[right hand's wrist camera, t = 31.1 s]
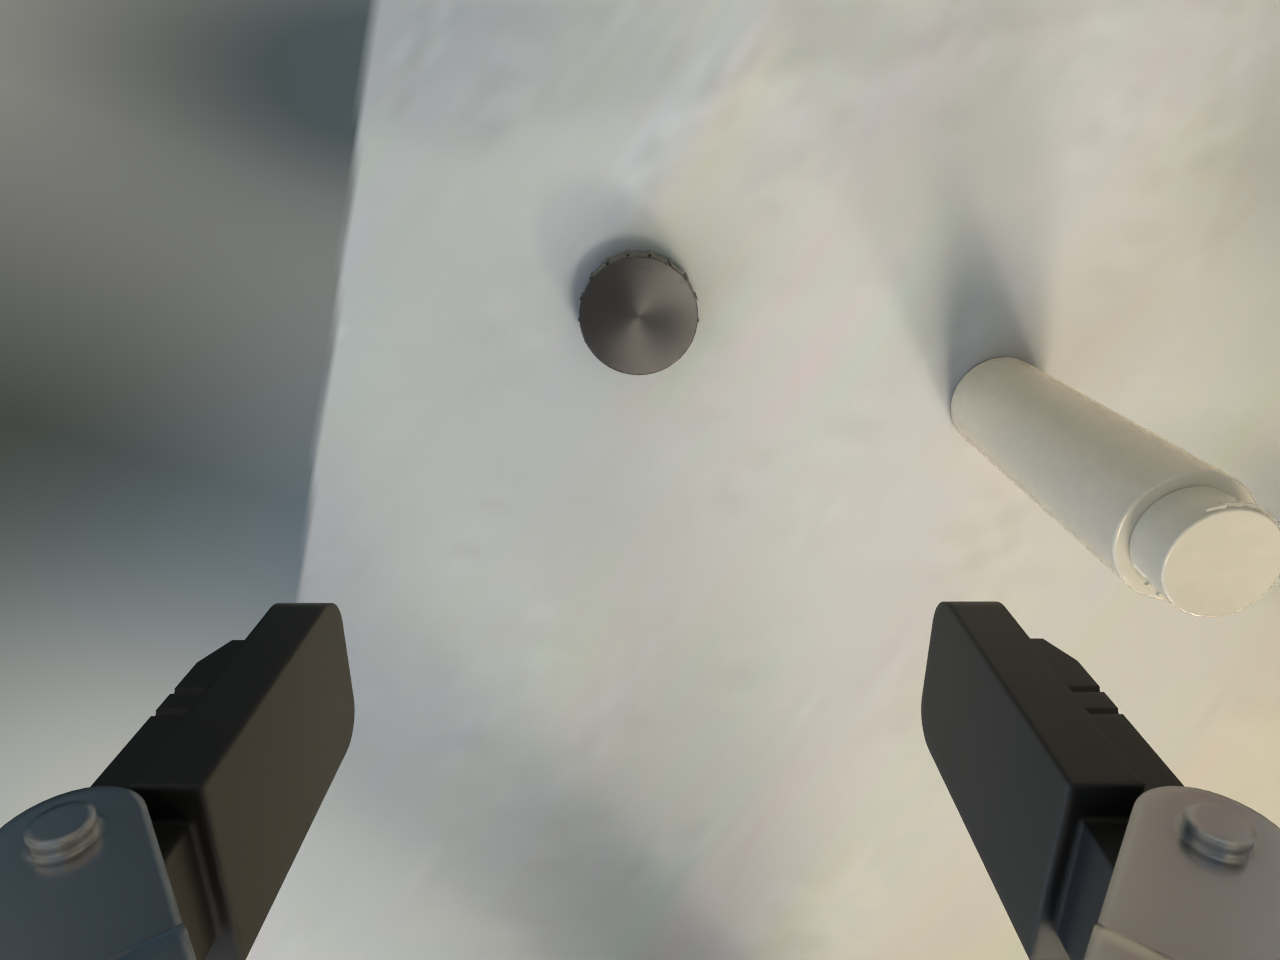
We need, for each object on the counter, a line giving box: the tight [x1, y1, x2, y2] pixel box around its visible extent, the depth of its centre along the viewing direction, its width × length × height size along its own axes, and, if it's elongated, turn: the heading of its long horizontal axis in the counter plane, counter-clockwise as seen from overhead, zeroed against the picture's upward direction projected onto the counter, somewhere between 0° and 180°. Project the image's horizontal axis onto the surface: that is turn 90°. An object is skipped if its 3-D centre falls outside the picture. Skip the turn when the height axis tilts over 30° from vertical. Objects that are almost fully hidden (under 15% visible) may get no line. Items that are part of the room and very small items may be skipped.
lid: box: [578, 250, 699, 375], centre depth 36 cm, size 5×5×2 cm
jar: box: [951, 357, 1280, 617], centre depth 31 cm, size 4×4×16 cm
